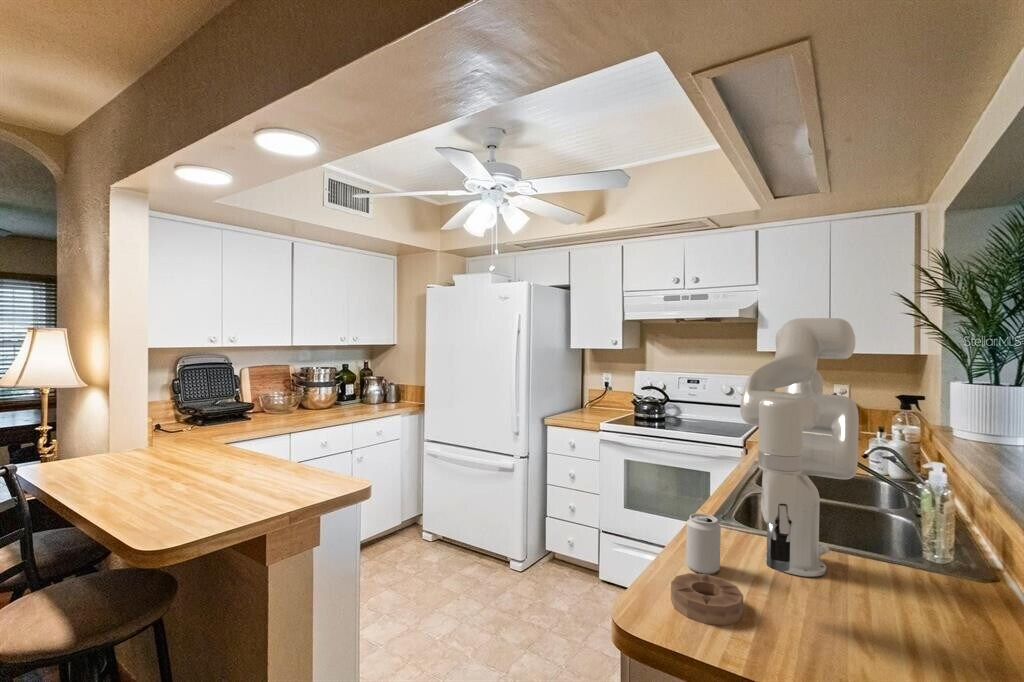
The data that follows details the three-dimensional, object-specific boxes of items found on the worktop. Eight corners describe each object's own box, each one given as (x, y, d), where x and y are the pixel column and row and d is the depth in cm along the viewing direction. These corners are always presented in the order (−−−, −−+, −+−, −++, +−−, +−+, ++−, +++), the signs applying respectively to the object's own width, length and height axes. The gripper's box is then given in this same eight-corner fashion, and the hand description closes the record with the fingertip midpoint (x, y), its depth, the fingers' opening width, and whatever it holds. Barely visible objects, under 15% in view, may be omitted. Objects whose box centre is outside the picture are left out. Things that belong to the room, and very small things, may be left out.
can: (723, 577, 113) (724, 524, 113) (687, 574, 114) (689, 521, 114) (716, 563, 120) (717, 513, 120) (683, 559, 121) (684, 510, 121)
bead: (705, 585, 109) (706, 569, 109) (756, 616, 97) (757, 598, 97) (658, 596, 104) (658, 580, 104) (706, 630, 92) (706, 611, 92)
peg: (776, 559, 100) (776, 515, 100) (794, 568, 97) (795, 522, 96) (761, 563, 99) (762, 518, 98) (780, 572, 95) (780, 525, 95)
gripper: (754, 449, 106) (753, 535, 107) (762, 470, 91) (761, 571, 91) (794, 453, 103) (793, 541, 104) (810, 475, 88) (808, 578, 88)
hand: (778, 554), depth 98 cm, fingers closed on peg, 4 cm apart
